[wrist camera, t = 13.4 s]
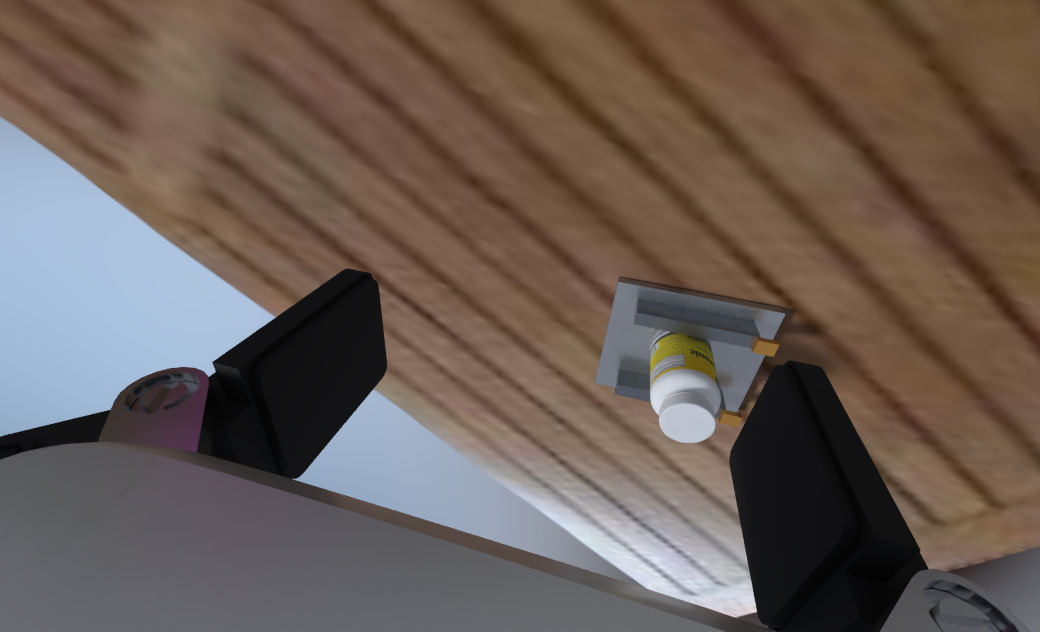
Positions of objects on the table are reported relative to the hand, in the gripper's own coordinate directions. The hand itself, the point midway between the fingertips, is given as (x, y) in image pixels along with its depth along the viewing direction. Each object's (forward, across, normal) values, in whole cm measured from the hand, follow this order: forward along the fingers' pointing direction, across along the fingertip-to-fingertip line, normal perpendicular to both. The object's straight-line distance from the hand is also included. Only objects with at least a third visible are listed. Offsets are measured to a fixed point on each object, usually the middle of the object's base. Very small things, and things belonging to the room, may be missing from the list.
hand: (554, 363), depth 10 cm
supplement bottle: (+28, -9, +17) cm, 33 cm away
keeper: (+28, -9, +17) cm, 34 cm away
